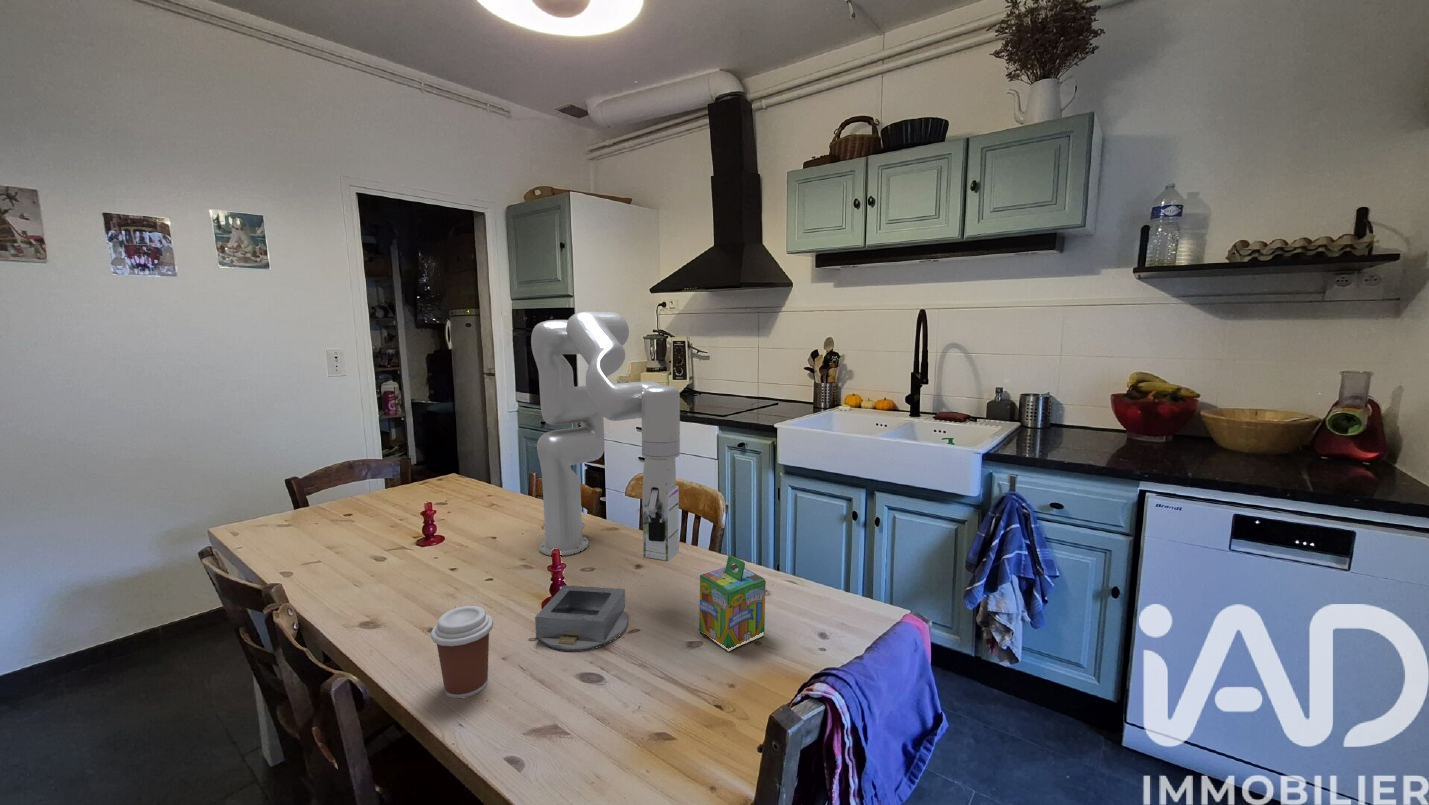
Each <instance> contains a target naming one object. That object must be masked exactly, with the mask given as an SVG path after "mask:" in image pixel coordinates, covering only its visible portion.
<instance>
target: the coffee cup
mask: <svg viewBox="0 0 1429 805" xmlns="http://www.w3.org/2000/svg"><path fill="white" fill-rule="evenodd" d="M493 627H494V619H493V618H492V617H491V615H490V614H487V612H486V610H485V609H484V608H483V607H481V606H478V605H465V606H458V607H455V608H452V609H450V610H448V611H446V612H444V613H443V614H442V615H441V616H440V617H439V618H438V619H437V623H436V625H435V626H433V628H432V630H431V632H430V638H431V641H432V642H433V643H434V644H436V646H437V647H436V648H437V654H438V659H439V660H438V661H439V666H440V670H441V676H442V682H443V683H442V684H443V689H444V693H445V696H447V697H449V696H450V697H449V698H450V699H458V698H460V699H464V698H463V697H466V698H469V697H468V696H470V697H471V696H474V695H473V694H475V695H477V694H479V693H480V692H482V691H483V690H484V689H485V688H486V687H485V686H488V683H489V647H490V646H489V644H490V643H489V642H490V632H491V631H492V630H493ZM484 687H485V688H484ZM481 690H482V691H481ZM476 693H477V694H476Z"/></svg>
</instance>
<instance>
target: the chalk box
mask: <svg viewBox="0 0 1429 805" xmlns="http://www.w3.org/2000/svg"><path fill="white" fill-rule="evenodd" d="M745 566H746V563H745V561H744V560H741V559H739V558H737V557H735V556H734V555H733V556H732V555H728V557H727V560H726V564H725V567H722V568H721V567H720V568H718V569H715V570H711V571H709V572H705V573H703V574H700V575H699V613H698V615H699V619H698V621H699V623H698V626H699V627H698V631H699V630H700V631H701V632H703V633H705V634H706V635H708V636H709V637H711V638H712V639H714V640H716V641H717V642H719V643H720V644H722V645H724V646H725V647H726V648H728V649H729V648H731V647H734V646H736V645H737V644H741V643H742V642H744V641H747V640H749V639H750V638H753V637H755V636H756V635H759V634H760V633H762V632H764V633H765V625H766V624H765V618H766V584H767V582H766V579H765V578H764V577H763V576H760V575H759V574H757V573H755V572H753V571H751V570H749V569H748V568H746V567H745ZM701 632H700V633H701Z"/></svg>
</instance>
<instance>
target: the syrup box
mask: <svg viewBox="0 0 1429 805" xmlns="http://www.w3.org/2000/svg"><path fill="white" fill-rule="evenodd" d="M679 491H680V490H679V485H677V484H676V485H674V486H673V488H672V489H671V490H670V493H669V494H668V502H667V507H665V508H664V519H663V521H665V540H664V542H659V541H649V521H648V519H649V512H648V508H649V505H648V506H647V507H643V506H642V539H643V540H642V542H643V548H642V549H643V550H642V551H643V552H642V553H643V559H650V560H654V561H661V562H667V563H668V562H670V561H671V560H672V559H673V558H674V557H675V556H677V554H678V553H679V551H680V543H679V542H680V541H679V540H680V539H679V536H680V535H679V523H680V522H679V519H680V518H679V508H680V506H679V505H680V503H679V502H680V501H679V500H680V499H679V498H680V497H679V496H680V494H679V493H680V492H679ZM649 502H650V501H649ZM661 505H662V502H660V503H657V506H661ZM657 512H659V514H660V510H657Z"/></svg>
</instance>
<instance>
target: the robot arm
mask: <svg viewBox="0 0 1429 805" xmlns="http://www.w3.org/2000/svg"><path fill="white" fill-rule="evenodd" d="M629 328H630V327H629V324H628V322H627V320H626V318H624V316H622V314H620V313H618V312H614V311H590V310H589V311H580V312H576V313H574V314H572V315H571V316H570V317H568V319H553V320H551V319H550V320H545V321H541V322H539V323H537V324H536V325H534V328H533V329H532V331H531V337H530V338H531V340H530V344H531V351H532V355H533V358H534V361H535V364H536V368H537V370H538V381H539V382H538V383H539V384H538V385H539V398H540V399H539V400H540V411H541V417H542V420H543V421H544V422H545V423H546V424H548V425H551V426H554V425H555V426H558V425H559V426H560V425H568V424H579V423H580V426H579V427H569V428H562V429H553V430H550V431H546V432H545V433H543V434H542V435H541V436H540V437H539V438H538V440H537V442H536V451H537V456H538V460H539V465H540V470H541V482H542V494H543V495H542V496H543V497H542V498H543V519H544V539H545V540H543V541H542V542H541V543H540V544H539V547H538V548H539V552H540V553H542V554H543V555H546V556H549V557H550V556H551V550H552V549H553V548H558V549H559V550H560V551H561V554H562V556H561V557H563V556H571V555H575V554H578V553H580V551H581V552H583V551H585V550H586V549H587V548H588V547H589V539H588V538H587V537H585V536H583V529H584V528H585V527H586V526H585V525H586V524H585V522H583V520H582V517H583V516H582V497H581V496H582V494H581V481H580V478H579V476H578V475H577V474H576V472H575V471H574V469H572V466H574V465H578V464H583V463H590V462H594V461H596V460H599V459H600V458H601V457H602V456H603V454H604V451H605V446H606V445H605V441H606V440H605V422H604V421H605V419H606V420H608V421H612V422H614V421H615V422H617V421H618V422H619V421H627V420H634V419H641V456H642V457H643V458H644V463H643V473H642V494H641V495H642V496H641V497H642V498H641V505H642V508H643V507H647V506H648V505H649V508H648V512H649V519H648V521H649V541H659V542H664V540H665V521H663V519H664V508H665V507H667V502H668V494H669V493H670V490H671V489H672V488H673V486H674V485H677V479H676V477H677V476H676V475H677V474H676V473H677V469H676V458H679V457H680V455H681V453H680V452H681V451H680V450H681V446H680V444H681V436H680V433H681V429H680V428H681V418H680V417H681V414H680V413H681V403H680V402H681V399H680V391H679V389H678V388H677V387H675V386H672V385H662V384H660V383H659V382H656V381H651V380H649V381H647V380H646V381H645V380H643V381H631V382H629V381H627V382H618V383H617V382H616V383H613V382H611V381H610V380H609V379H608V377H609V376H611V375H613V374H614V373H616V372H617V371H618V370H619V369H620V368H621V367H622V366H623V364H624V362H625V359H626V350H625V348H624V347H623V346H624V345H625V344H626V342H628V340H629V334H630V330H629ZM564 355H580V356H581V357H582V358H583V359H584V361H585V362H586V363H587V365H588V367H587V370H586V373H585V385H581V386H580V385H579V386H575V383H574V382H575V381H574V370H573V367H572V365H571V364H570V363H569V361H568V360H567V359H566V358H565V356H564ZM604 418H605V419H604ZM649 501H650V502H649ZM660 502H662V505H661V506H657V503H660ZM657 510H660V514H659V512H657ZM585 548H586V549H585ZM584 549H585V550H584ZM574 553H575V554H574Z"/></svg>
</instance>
